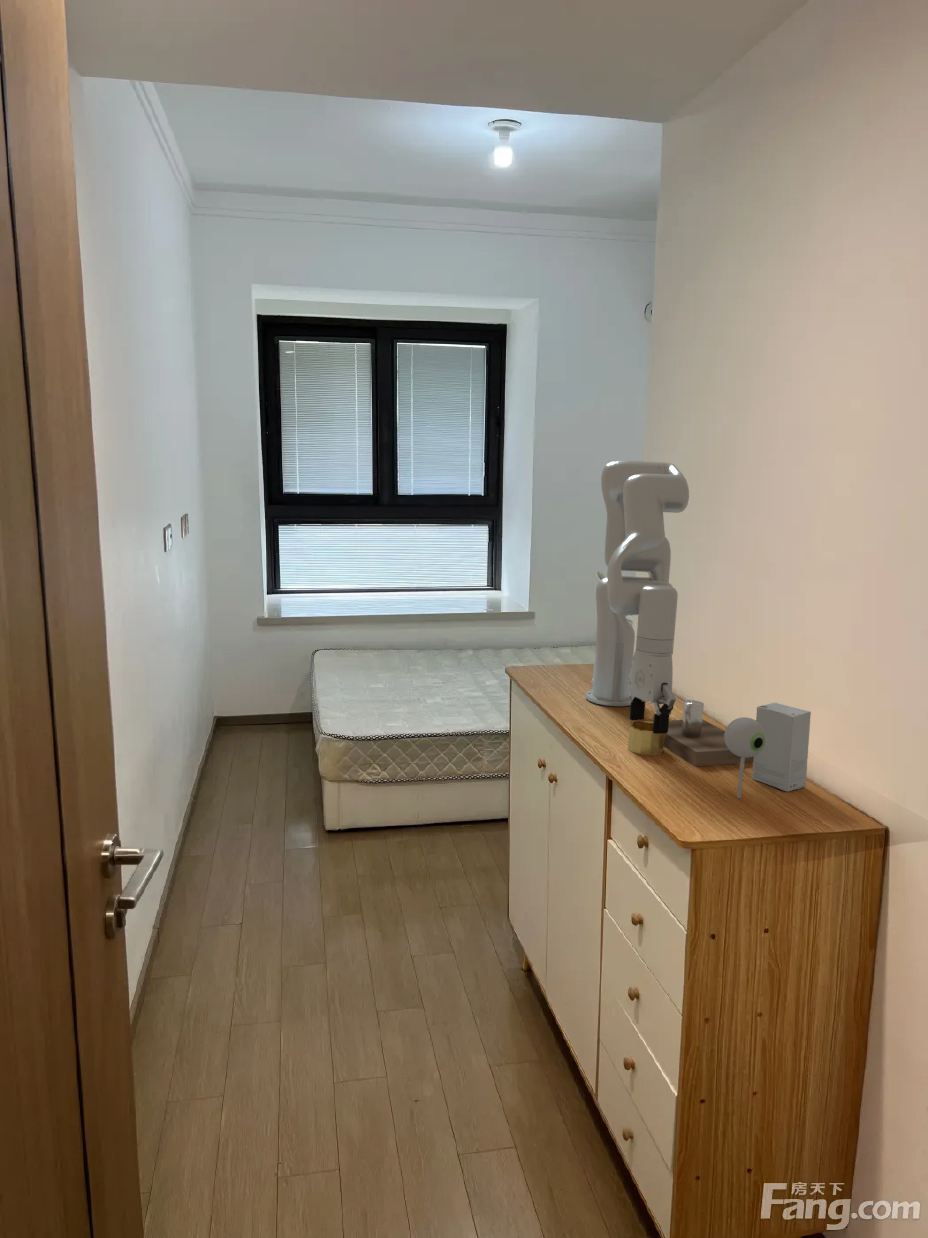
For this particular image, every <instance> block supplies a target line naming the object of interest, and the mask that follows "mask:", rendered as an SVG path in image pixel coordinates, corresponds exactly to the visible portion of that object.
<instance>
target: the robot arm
mask: <svg viewBox="0 0 928 1238" xmlns="http://www.w3.org/2000/svg"><path fill="white" fill-rule="evenodd" d="M600 479H601V480H600V485H601V492H602V496H603V497H602V498H603V501H604V506H605V510H606V524H605V525H606V526H605V540H604V541H605V542H604V563H605V565H606V567H607V571H606V577H604V578H601V579H600V581H598V583H597V585H596V588H595V603H596V604H595V605H596V635H595V637H596V638H595V649H594V650H595V651H594V661H593V676H592V679H591V680H590V683H591V684H592V689H591V690H588V691H587V692H585V698H586V700H588V701H589V702H590V703H593V704H596V705H600V706H601V705H602V706H607V707H627V706H630V708H629V720H630V721H644V720H645V714H646V703H647V704H653V707H654V710H655V713H654V714H653V721H654V722H653V733H655V734H662V733H668V725H669V721H670V715H671V714H672V710H673V709H674V705H675V703H676V700H677V698H676V695H675V694H674V692H673V691H672V690H673V654H674V645H675V633H676V632H675V631H676V621H677V619H676V618H677V610H678V596H679V595H678V591H677V589H676V588H675V587H674V586H673V585H672V583H670V573H671V572H670V571H671V570H670V569H671V560H672V559H671V558H672V557H671V556H672V555H671V553H672V551H671V545H670V542H669V541H670V540H669V539H668V538H667V537H666V531H665V522H664V520H665V519H664V513H670V514H671V513H672V514H673V513H674V514H675V513H677V514H678V513H682V512H684V511H685V510H686V509H687V507H688V504H689V500H690V489H689V485H688V481H687V479H686V477H685V475H684V474H683V473H682V471H681V470H680V469H679V467H677V465H675V464H673V463H671V462H665V461H664V462H663V461H661V462H660V461H643V460H615V461H610V462H608V463H607V464H606V465H605V466H603V469H602V472H601V476H600ZM623 571H624V572H637V573H638V572H641V573H647V574H648V577H642V576H625V575H624V576H623V575H622V572H623ZM629 616H637V627H636V628H637V630H636V633H635V630H634V627H633V626H632V624H631V623H630V622H629V621H628V619H627V618H626V617H629ZM635 634H636V635H635ZM635 639H636V640H635ZM635 642H636V643H635ZM661 705H662V706H661Z"/></svg>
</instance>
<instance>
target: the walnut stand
mask: <svg viewBox="0 0 928 1238" xmlns="http://www.w3.org/2000/svg"><path fill="white" fill-rule="evenodd" d="M682 721H683V719H675V720H671V719H669V725H668V733H665V735H664V746H663V748H665V749H667V750H668V751H670V752H671V753H673V754H675V755H676V756H677V757H680V758H681V759H683V760H684V761H686V762H687V763H689V764H691V765H693V766H694V767H704V766H706V767H707V766H717V765H734V764H740V762H741V757H739V756H737V755H735V754H733V753H732V752H731V751H730V750H729V749H728V747H727V746H726V743H725V739H724V733H725V730H723V729H722V728H720V727H718V726H716V725H714V724H712V723H711V722H709V721H706V720H705V719H703V718H702V728H701V737H699V738H690V737H685V736H683V735H682V734H681V731H682ZM650 722H654V720H652V721H650ZM753 760H754V756H753V757H748V758H745V761H744V764H745V763H746V764H747V763H753Z"/></svg>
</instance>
